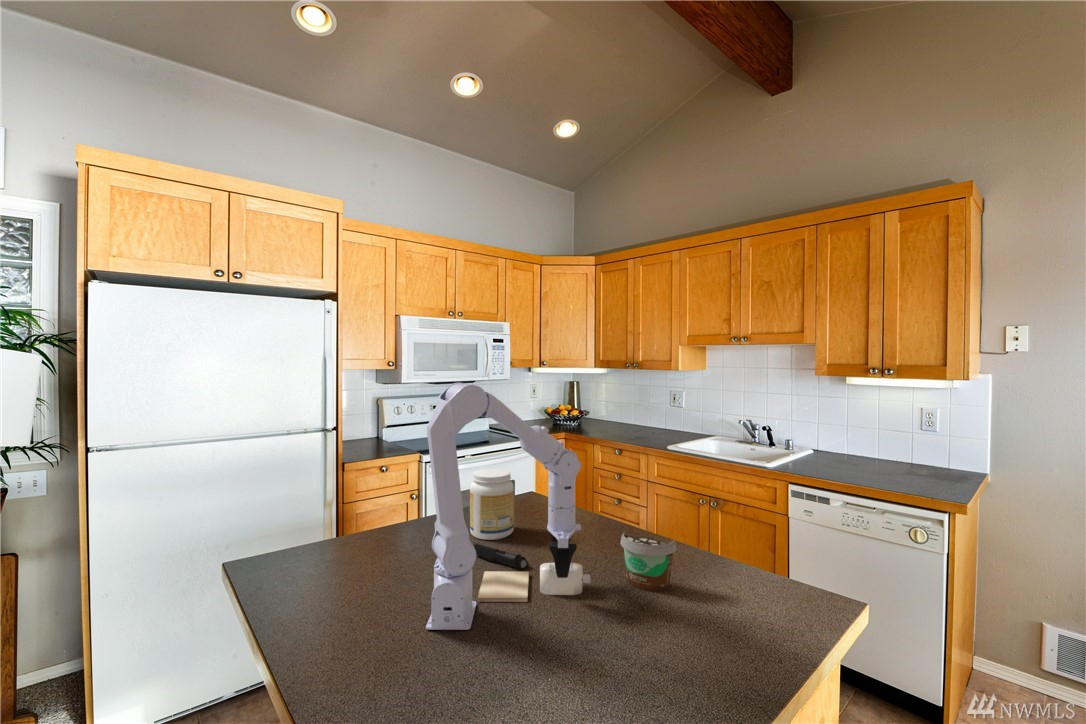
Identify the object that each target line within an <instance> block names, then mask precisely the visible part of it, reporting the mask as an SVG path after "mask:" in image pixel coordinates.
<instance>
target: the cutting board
mask: <svg viewBox="0 0 1086 724" xmlns="http://www.w3.org/2000/svg"><path fill="white" fill-rule="evenodd" d="M529 577H530V571H525V570H523V571H517V570H516V571H512V570H511V571H509V570H508V571H504V570H503V571H499V570H498V571H493V570H491V571H487V570H485V571H484V572H483V576H482V580H481V584H480V587H479V590H478V595H477V603H481V602H483V603H486V602H488V603H489V602H490V603H491V602H492V603H497V602H498V603H499V602H502V603H505V602H506V603H515V602H516V603H527V602H528V597H529V583H530V578H529Z"/></svg>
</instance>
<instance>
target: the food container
mask: <svg viewBox="0 0 1086 724" xmlns="http://www.w3.org/2000/svg"><path fill="white" fill-rule="evenodd" d="M620 545H621V547H622V548H623V551H624V552H623V553H624V554H623V555H624V564H625V574H626V581H627V583H628V584H629V585H630V586H632V587H633V588H635V589H637V588H638V590H639V591H641V590H642V591H645V592H646V591H647V592H659V591H663V590H665V589H667V588H669V587H670V583H671V574H672V566H673V558H674V553H675V552H676V551H678V549H677V543H676V542H675V540H672V541H670V542H665V541H664V542H663V541H660V540H657V539H654V538H651V537H639V536H638V537H636V536H631V535H626V533H625V530H624V531H623V532H622V535H621V538H620Z"/></svg>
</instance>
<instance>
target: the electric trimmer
mask: <svg viewBox="0 0 1086 724" xmlns="http://www.w3.org/2000/svg"><path fill="white" fill-rule="evenodd" d="M473 546H474V548H475V550H476V556H478V557H480V558H481V559H482V558H483V559H485V560H487V561H489V562H491V563H496V562H497V563H500V564H503V565H506V566H509V567H512V568H515V569H516V571H526V569H528V568H529V567H530V565H529V562H528V560H527V559H526V557H525V556H522V555H521V554H520V553H519V554H514V553H510V552H508V551H504V550H501V549H498V548H493V547H489V546H485V545H483V544H479V543H474V545H473Z"/></svg>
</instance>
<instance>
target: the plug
mask: <svg viewBox="0 0 1086 724" xmlns="http://www.w3.org/2000/svg"><path fill="white" fill-rule="evenodd" d="M583 567H584V566H583V565H582V564H580V563H577V562H571V563H570V569H569V574H568V577H567V578H557V574H556V569H555V563H554V562H544V563H542V564H541V565H539V592H540V593H541V594H543V595H547V596H564V595H565V596H577V594H578V595H581V594H583V593H582V592H583V589H584V588H583V584H591V574H586V573H585V574H583V573H584V572H583Z"/></svg>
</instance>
